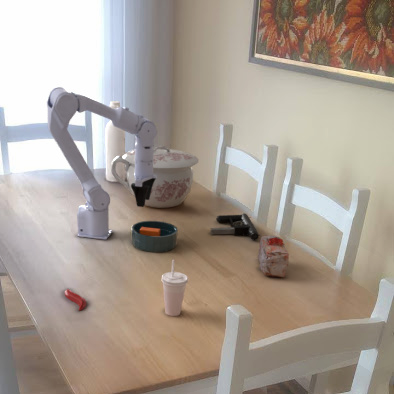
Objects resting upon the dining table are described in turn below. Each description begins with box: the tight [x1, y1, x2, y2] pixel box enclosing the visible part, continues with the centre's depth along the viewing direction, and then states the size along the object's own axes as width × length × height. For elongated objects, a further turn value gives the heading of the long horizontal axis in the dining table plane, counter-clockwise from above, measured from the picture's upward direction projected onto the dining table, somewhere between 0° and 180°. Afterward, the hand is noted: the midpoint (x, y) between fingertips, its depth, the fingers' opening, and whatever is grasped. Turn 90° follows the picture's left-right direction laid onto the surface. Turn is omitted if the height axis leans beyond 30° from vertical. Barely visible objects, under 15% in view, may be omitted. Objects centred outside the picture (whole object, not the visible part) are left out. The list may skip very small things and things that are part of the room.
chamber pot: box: [111, 145, 199, 209], centre depth 210 cm, size 28×28×21 cm
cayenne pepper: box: [64, 288, 87, 312], centre depth 144 cm, size 12×5×2 cm, turn 17°
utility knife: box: [140, 227, 160, 236], centre depth 179 cm, size 9×3×4 cm, turn 82°
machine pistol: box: [210, 212, 260, 241], centre depth 194 cm, size 3×20×16 cm
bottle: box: [104, 100, 126, 183], centre depth 229 cm, size 8×8×30 cm
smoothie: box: [161, 259, 189, 317], centre depth 139 cm, size 6×6×14 cm
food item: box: [257, 234, 290, 278], centre depth 167 cm, size 14×8×10 cm, turn 5°
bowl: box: [130, 220, 179, 253], centre depth 179 cm, size 14×14×5 cm
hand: (143, 202), depth 184 cm, fingers open, 7 cm apart
